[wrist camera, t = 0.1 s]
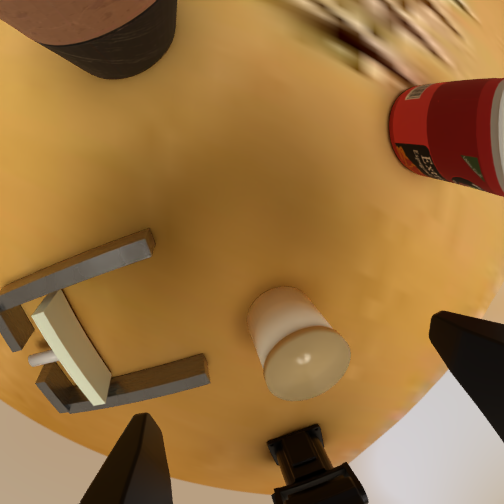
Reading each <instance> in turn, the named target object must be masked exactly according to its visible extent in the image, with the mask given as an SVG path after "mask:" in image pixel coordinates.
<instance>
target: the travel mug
mask: <svg viewBox="0 0 504 504" xmlns="http://www.w3.org/2000/svg"><path fill="white" fill-rule="evenodd" d="M176 12H177V0H0V19H1V20H3V21H4V22H6V23H8V24H9V25H11V26H12V27H14V28H15V29H17V30H18V31H20V32H21V33H23V34H24V35H26V36H27V37H29V38H30V39H32V40H34V41H35V42H37V43H39V44H41V45H42V46H44V47H46V48H48V49H49V50H51V51H53V52H55V53H56V54H58V55H60V56H61V57H63V58H65V59H66V60H68V61H70V62H71V63H73V64H75V65H76V66H78V67H80V68H81V69H83V70H85V71H87V72H88V73H90V74H92V75H94V76H97V77H100V78H104V79H121V78H127V77H130V76H133V75H136V74H139V73H141V72H143V71H145V70H146V69H148V68H149V67H151V66H152V65H153V64H155V63H156V62H157V61H158V60H159V59H160V58H161V57H162V56H163V55H164V54H165V52H166V51H167V49H168V48H169V46H170V44H171V42H172V40H173V37H174V33H175V28H176Z"/></svg>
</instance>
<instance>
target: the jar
mask: <svg viewBox="0 0 504 504" xmlns="http://www.w3.org/2000/svg"><path fill="white" fill-rule="evenodd" d="M247 326H248V330H249V332H250V335H251V338H252V340H253V343H254V346H255V348H256V351H257V354H258V356H259V359H260V362H261V364H262V367H263V375H264V378H265V381H266V384H267V386H268V388H269V390H270V391H271V393H272V394H273V395H275V396H276V397H278V398H280V399H283V400H287V401H301V400H307V399H310V398H313V397H316V396H318V395H320V394H322V393H324V392H326V391H327V390H329V389H330V388H331V387H333V386H334V385H335V384H336V383H337V382H338V381H339V380H340V379H341V378H342V376H343V375H344V373H345V372H346V370H347V368H348V366H349V363H350V358H351V352H350V348H349V345H348V344H347V342H346V341H345V340H344V338H343V337H342V336H341V335H340V334H339V333H338V332H337V331H336V330H334V329H333V328H332V327H331V326H330V324H329V323H328V322H327V321H326V319H325V318H324V317H323V316H322V314H321V313H320V312H319V311H318V309H317V308H316V307H315V306H314V304H313V303H312V302H311V301H310V299H309V298H308V297H307V296H306V295H305V294H304V293H303V292H302V291H300V290H299V289H296V288H293V287H277V288H273V289H271V290H268V291H266V292H265V293H263V294H262V295H260V296H259V297H258V298H257V299H256V300H255V301H254V302H253V304H252V305H251V307H250V309H249V311H248V315H247Z"/></svg>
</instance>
